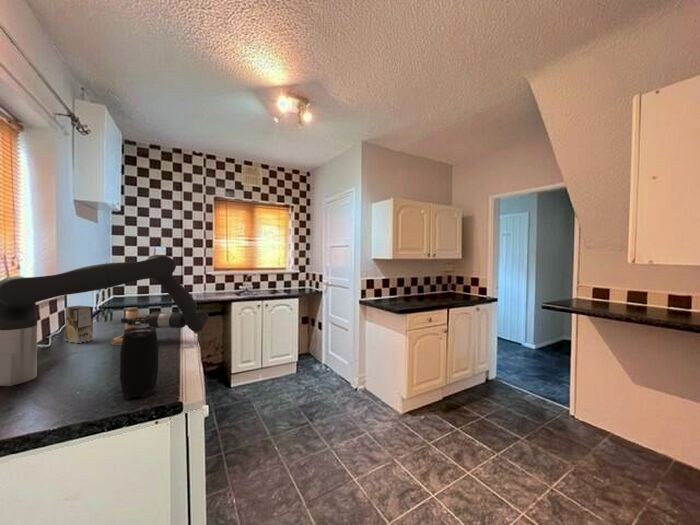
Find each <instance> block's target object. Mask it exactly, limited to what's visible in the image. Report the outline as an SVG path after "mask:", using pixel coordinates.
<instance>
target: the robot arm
mask: <svg viewBox="0 0 700 525" xmlns="http://www.w3.org/2000/svg"><path fill="white" fill-rule="evenodd" d="M176 268H177V264H176V262H175V260H174V259H173V258H171V257H170V256H167V255H164V254H163V255H161V254H154V255H151V256H149V257H148V258H146V259H145V260H141V261H133V262H132V261H131V262H130V261H129V262H125V261H124V262H108V263H100V264H94V265H93V264H92V265H87V266H83V267H78V268H74V269H72V270H67V271H65V272H61V273H57V274H52V275H42V276H29V277H24V276H21V275H20V276H17V275H14V276H8V277H6V278H3V279H1V280H0V387H11V386H15V385H19V384H24V383H26V382H27V383H28V382H30V381H32V380H35V379H36V378H37V375H38V374H37V373H38V372H37V370H38V368H37V367H38V366H37V365H38V315H37V303H38V302H43V301H45V300H49V299H53V298H56V297H61V296H67V295H75V294H81V293H83V294H84V293H89V292H95V291H100V290H105V289H110V288H113V287H118V286H123V285H126V284H129V283H134V282H136V281H142V280H149V279H154V280H155V281H157V283H158V284H159V285H160V286H161V287H162V288H163V289H164V290H165V291H166V293H167V294H168V296H169V297H170V298H171V299H172V300H173V302H174V304H175V305H176V306H177V307H178V309H179V310H180V312H172V311H171V312H170V311H153V312H151V314H139V317H136V318H126V317H125V318H124V317H123V318H121V319H120V324H125V323H128V325H138V326H139V327H140V326H141V325H144V326H145V325H147V324H148V326H152V327H155V328H156V329H172V328H173V329H182V328H185V327H186V326H187V328H188V329H189V330H190V331H192V332H197V333H198V332H200V331H202V330H203V329H204V327H205V326H206V324H207V322H208V321H209V318H210V316H209V314H208V312H207V311H205V310H203V309H202V310H201V309H198V304H197V301H196V300H195V299H194V297H193V296H192V295H191V294H190V292H189V291H188V290H187V289H186V288H185V287H184V286H183V285H182V284H181V283H180V282H179V281H178V280H177V279H176V278H175V276H174V274H173V273H174V272H175V271H176ZM138 318H139V319H138Z"/></svg>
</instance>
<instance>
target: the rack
mask: <svg viewBox="0 0 700 525" xmlns="http://www.w3.org/2000/svg"><path fill="white" fill-rule="evenodd" d="M123 336H124V334H122V335H120V336H119V335H118V336H117V337H114V338H111V339H110V340H111V341H110V345H111V344H112V345H111V346H121V345H122V341H123Z"/></svg>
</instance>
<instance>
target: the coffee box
mask: <svg viewBox="0 0 700 525" xmlns="http://www.w3.org/2000/svg"><path fill="white" fill-rule="evenodd" d="M93 321H94V306H88V305H75V306H74V305H73V306H68V307H65V320H64V322H65V334H64V336H65V337H64V338H65V339H64V340H65V341H69V342H68V343H70V342H74V343H73V344H77V343H80V344H83V343H82V342H84V343H87V342H86V341H88V342H91V341H90V340H92V341H93V339H94V338H93V334H94V330H93V329H94V322H93Z"/></svg>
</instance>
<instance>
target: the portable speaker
mask: <svg viewBox="0 0 700 525" xmlns="http://www.w3.org/2000/svg"><path fill="white" fill-rule="evenodd" d="M156 329H157V328H155V327H152V326H149V325H148V326H146V327H139V328H128V329H126V330H125V329H124V331H123V333H124V334H123V335H124V336H123V341H122V345H120V351H119V364H120V365H119V380H120V381H119V382H120V387H121V391H122V398H123V399H124V400H126V401H129V400H131V398H137V397H141V398H143V399H146V398H148V397H150V396H152V395H153V394H154V393H155V389H156V387H157V386H156V385H157V378H158V372H159V350H160V349H159V348H160V346H159V342H158V337H157V336H158V335H157V330H156Z"/></svg>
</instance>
